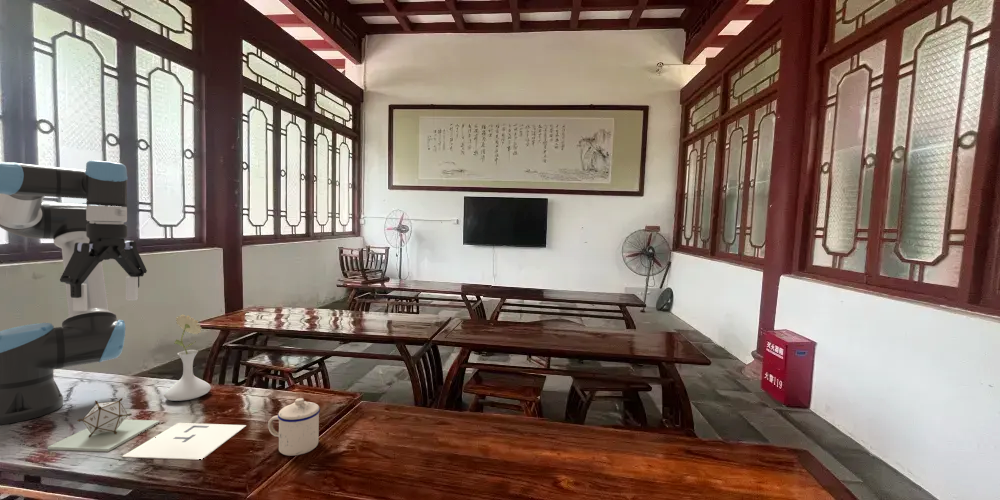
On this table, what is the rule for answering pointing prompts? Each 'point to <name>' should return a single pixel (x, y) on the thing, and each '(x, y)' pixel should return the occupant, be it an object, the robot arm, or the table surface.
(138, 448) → the card
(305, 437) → the teacup with lid
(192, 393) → the flower in vase
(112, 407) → the game die
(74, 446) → the sage mat
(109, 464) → the table surface
